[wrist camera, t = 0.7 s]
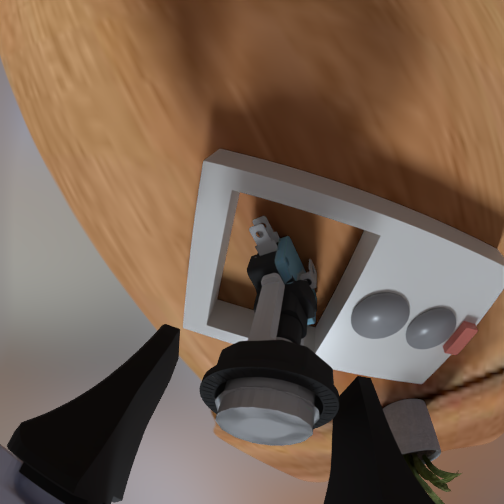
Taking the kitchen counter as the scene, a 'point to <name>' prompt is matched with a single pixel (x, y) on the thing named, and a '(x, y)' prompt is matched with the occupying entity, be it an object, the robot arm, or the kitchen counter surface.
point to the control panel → (351, 272)
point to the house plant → (418, 442)
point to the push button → (274, 355)
